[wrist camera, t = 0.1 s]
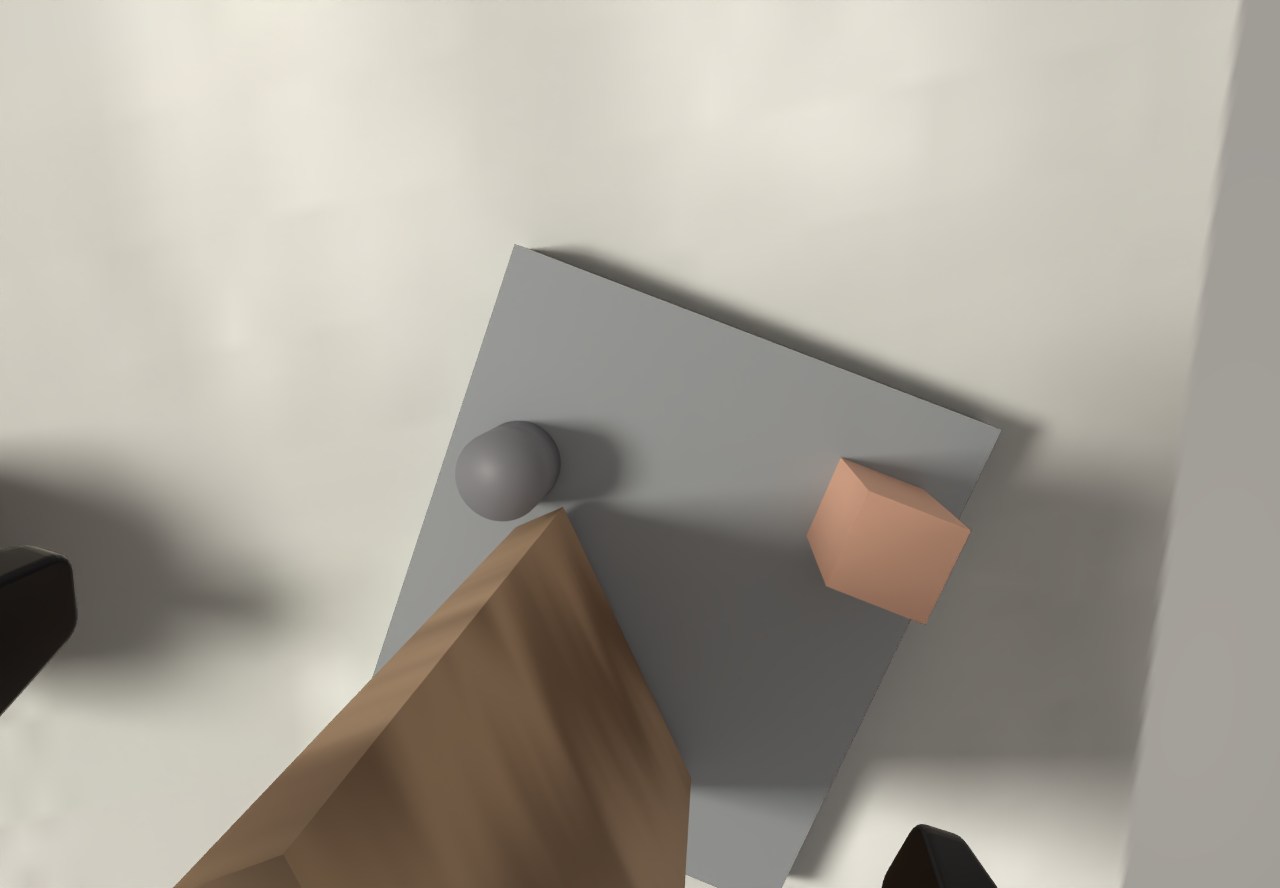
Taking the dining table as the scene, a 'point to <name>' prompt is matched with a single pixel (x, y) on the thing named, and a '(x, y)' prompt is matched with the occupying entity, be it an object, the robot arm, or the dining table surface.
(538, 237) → the dining table surface
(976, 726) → the dining table surface
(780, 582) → the board
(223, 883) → the brown wooden panel
